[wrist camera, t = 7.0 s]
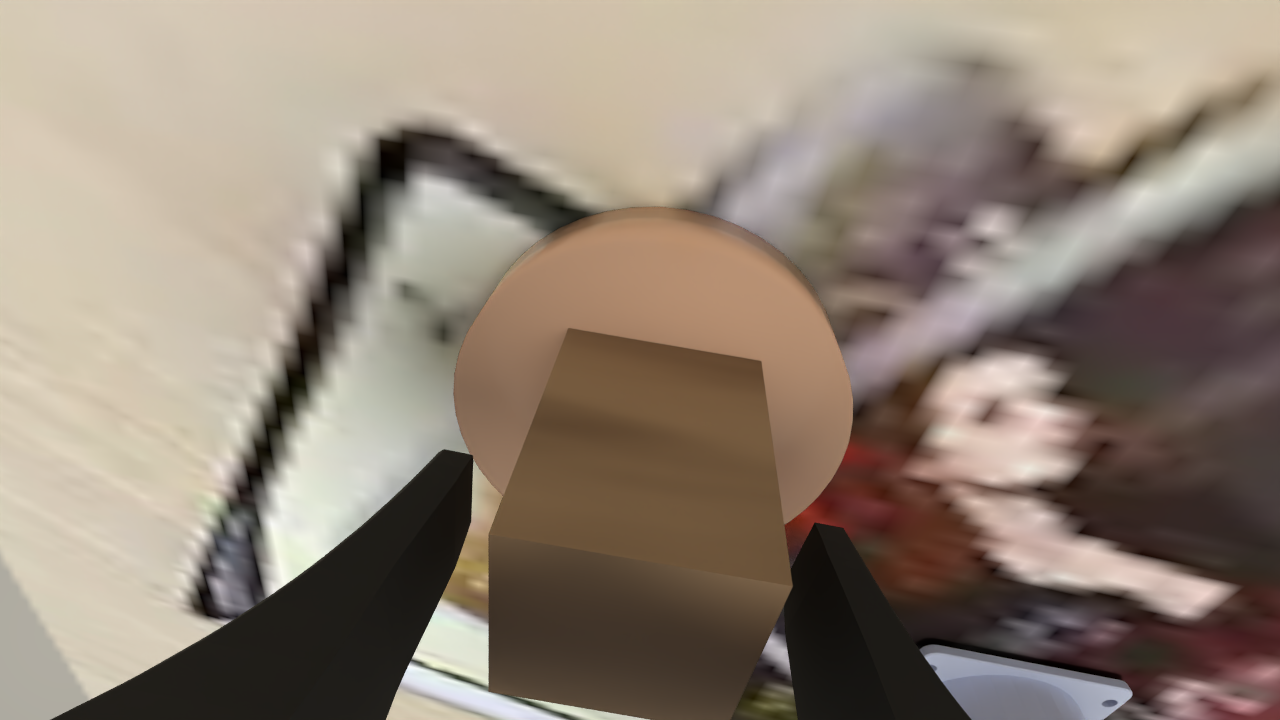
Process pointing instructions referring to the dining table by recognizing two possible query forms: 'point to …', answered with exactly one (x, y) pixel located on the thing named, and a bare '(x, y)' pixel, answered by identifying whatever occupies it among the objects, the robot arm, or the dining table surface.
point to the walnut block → (639, 534)
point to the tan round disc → (659, 332)
